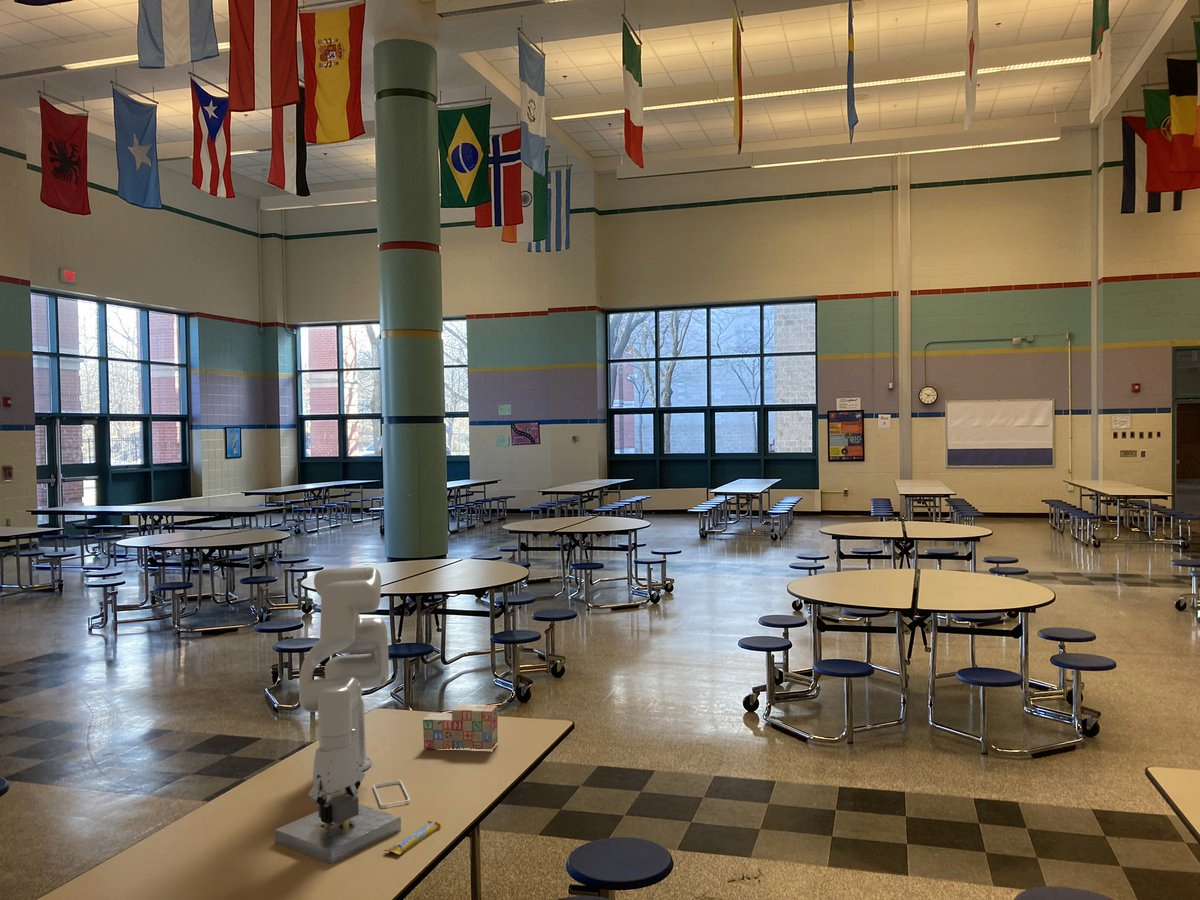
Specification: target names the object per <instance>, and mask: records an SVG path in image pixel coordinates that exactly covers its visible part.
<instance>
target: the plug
mask: <svg viewBox="0 0 1200 900" xmlns="http://www.w3.org/2000/svg"><path fill="white" fill-rule="evenodd" d="M325 798H326V796H325ZM325 798H324V800H325ZM358 804H359V797H357V796H356V795H355V796H352V795H349V794H346V792H342V791H337V792H334V793H332V796H331V800H330V804H329V806H331V809H332V822H334V823H337V824H338V823H341V822H343V828H344V829H345V828H347V827H349V819H350V818H352V817H354V816H356V815H359V807H358ZM317 805H318V804H317ZM317 808H318V811H319V818H321V815H320V805H318V807H317ZM328 827H330V824H327V823H324V828H328Z"/></svg>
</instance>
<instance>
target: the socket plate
mask: <svg viewBox="0 0 1200 900" xmlns="http://www.w3.org/2000/svg"><path fill="white" fill-rule="evenodd" d="M358 807H359V815H356V816H354V817H352V818H350V819H349V827H347V828H345V829H344V828H343V822H341V823H338V824H337V823H334V822H332V823H331V824H330V827H328V828H324V822H322V821H321V818H319V810H318V811H315V812H313V813H309V814H308V815H306V816H304V817H301V818H299V819H296V820H293V821H292V822H289V823H287V824H285V825H283V826H280V827H278V828H276V829H274V839H275V843H276V844H278V845H281V846H283V847H286V848H289V849H291V850H294V851H295V852H296V851H297V852H299V853H302V854H304V855H308V856H309V857H313V858H315V859H318V860H321V861H323V862H325V863H329V864H332V865H333V864H335V863H337V862H339V861H341V860H343V859H345V858H347V857H349V856H351V855H353V854H355V853H357V852H359V851H361V850H362V849H365V848H367V847H369V846H371V845H373V844H376V843H377V842H379V841H381V840H383V839H384V838H387V837H389V836H391V835H393V834H395V833H398V832H399V831H401V830H402V821H401V820H402V819H401V816H399V815H395V814H392V813H389V812H387V811H382V810H380V809H376V808H373V807H370V806H367V805H365V804H364V805H363V804H362V803H361V804H360V803H358Z"/></svg>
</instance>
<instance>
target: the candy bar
mask: <svg viewBox="0 0 1200 900" xmlns="http://www.w3.org/2000/svg"><path fill="white" fill-rule="evenodd" d="M441 828H442V826H441V823H439V822H437V821H435V822H434V824H433V821H431V820H427V824H425V825H423V826H422V827H421V828H419V829H417V830H416V831H414V832H413V833H411V834H409V835H408V836H406V837H405V838H403V839H402V840H400V841H399V842H396V843H395V844H393V845H392V846H390V848H389V849H384V850H383V851H384V852H390V853H393V854H396V855H401V854H403V853H405V852H407V851H409V850H410V849H413V847H415V846H416V845H418V844H419V843H421V842H422V841H424V840H425V839H426V838H428V837H429V836H431V835H433V834H434V833H435V832H437V831H439V830H440V829H441Z"/></svg>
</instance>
